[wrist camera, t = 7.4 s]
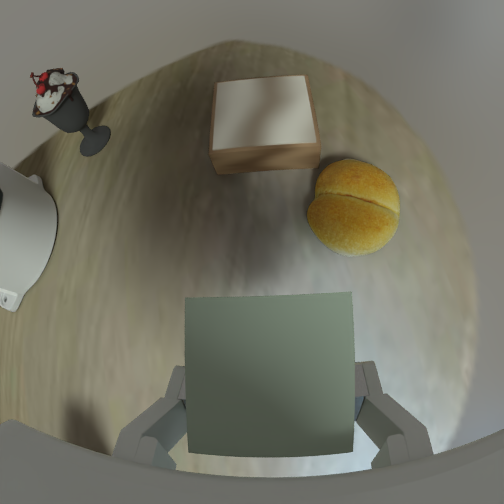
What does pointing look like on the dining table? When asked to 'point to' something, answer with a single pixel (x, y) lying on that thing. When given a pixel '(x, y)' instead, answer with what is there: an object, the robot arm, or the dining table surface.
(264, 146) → the wooden square block
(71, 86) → the sundae
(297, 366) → the green pillar block
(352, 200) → the bread roll
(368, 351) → the dining table surface
